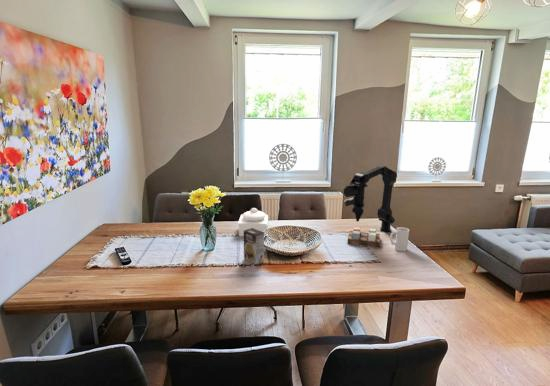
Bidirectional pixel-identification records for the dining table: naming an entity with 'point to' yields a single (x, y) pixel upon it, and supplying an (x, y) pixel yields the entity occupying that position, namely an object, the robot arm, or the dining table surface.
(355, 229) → the key terracotta
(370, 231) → the key sage
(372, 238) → the cream white cube
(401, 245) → the mug
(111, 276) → the dining table surface
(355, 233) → the key slate
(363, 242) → the brown shallow tray
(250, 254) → the coffee box
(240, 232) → the white lidded jar
